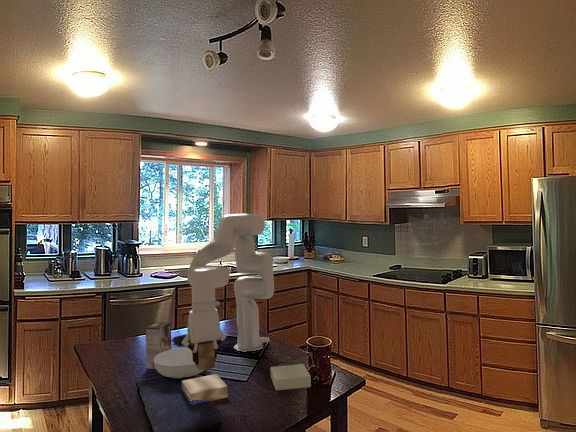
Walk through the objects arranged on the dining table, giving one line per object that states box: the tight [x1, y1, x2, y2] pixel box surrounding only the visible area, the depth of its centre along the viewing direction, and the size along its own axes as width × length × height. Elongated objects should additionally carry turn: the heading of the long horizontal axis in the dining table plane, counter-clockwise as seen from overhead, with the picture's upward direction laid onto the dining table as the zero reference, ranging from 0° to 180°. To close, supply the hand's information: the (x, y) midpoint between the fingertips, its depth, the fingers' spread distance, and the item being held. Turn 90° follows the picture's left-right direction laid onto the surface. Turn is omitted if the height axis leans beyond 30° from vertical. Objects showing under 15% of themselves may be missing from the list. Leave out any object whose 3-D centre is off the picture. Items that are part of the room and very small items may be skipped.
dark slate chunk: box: [171, 333, 192, 347], centre depth 199 cm, size 15×22×5 cm
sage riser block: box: [269, 363, 312, 391], centre depth 146 cm, size 12×12×4 cm
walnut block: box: [195, 341, 216, 371], centre depth 137 cm, size 5×5×8 cm
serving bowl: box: [153, 346, 206, 379], centre depth 155 cm, size 21×21×7 cm
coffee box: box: [144, 321, 173, 370], centre depth 165 cm, size 9×6×16 cm
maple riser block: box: [181, 373, 229, 402], centre depth 137 cm, size 12×12×4 cm
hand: (204, 361), depth 137 cm, fingers closed on walnut block, 5 cm apart
